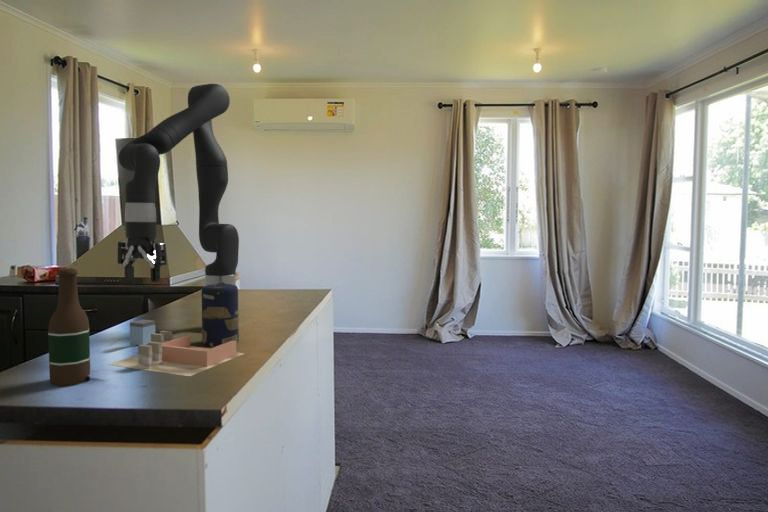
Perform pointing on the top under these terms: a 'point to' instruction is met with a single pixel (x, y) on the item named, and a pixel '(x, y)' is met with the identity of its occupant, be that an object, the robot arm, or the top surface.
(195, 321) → the top surface
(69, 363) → the beer bottle
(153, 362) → the board
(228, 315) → the canister
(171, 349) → the tray
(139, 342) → the grey block
